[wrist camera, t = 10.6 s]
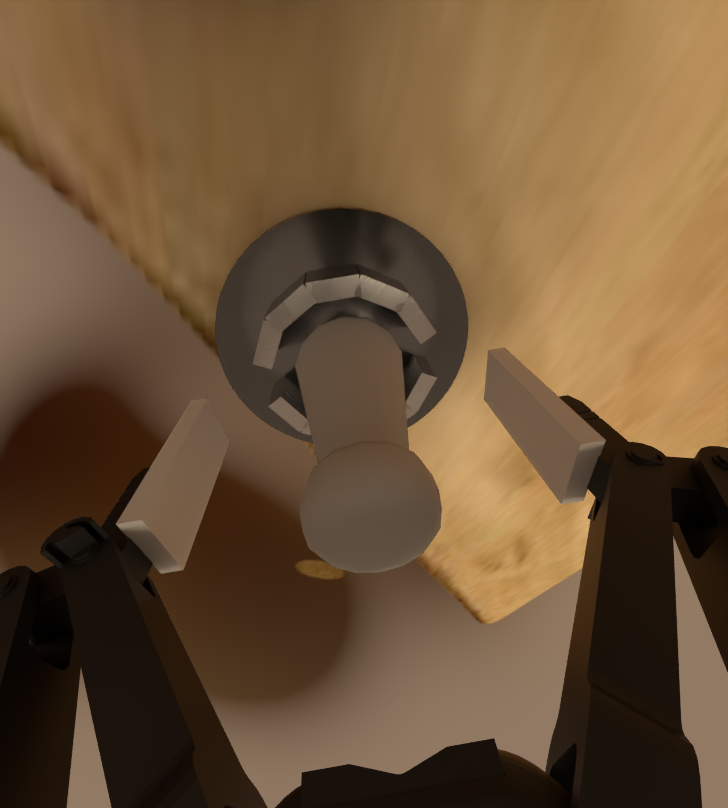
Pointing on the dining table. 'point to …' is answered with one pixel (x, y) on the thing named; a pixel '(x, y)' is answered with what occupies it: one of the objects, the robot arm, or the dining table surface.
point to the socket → (338, 308)
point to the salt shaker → (362, 452)
